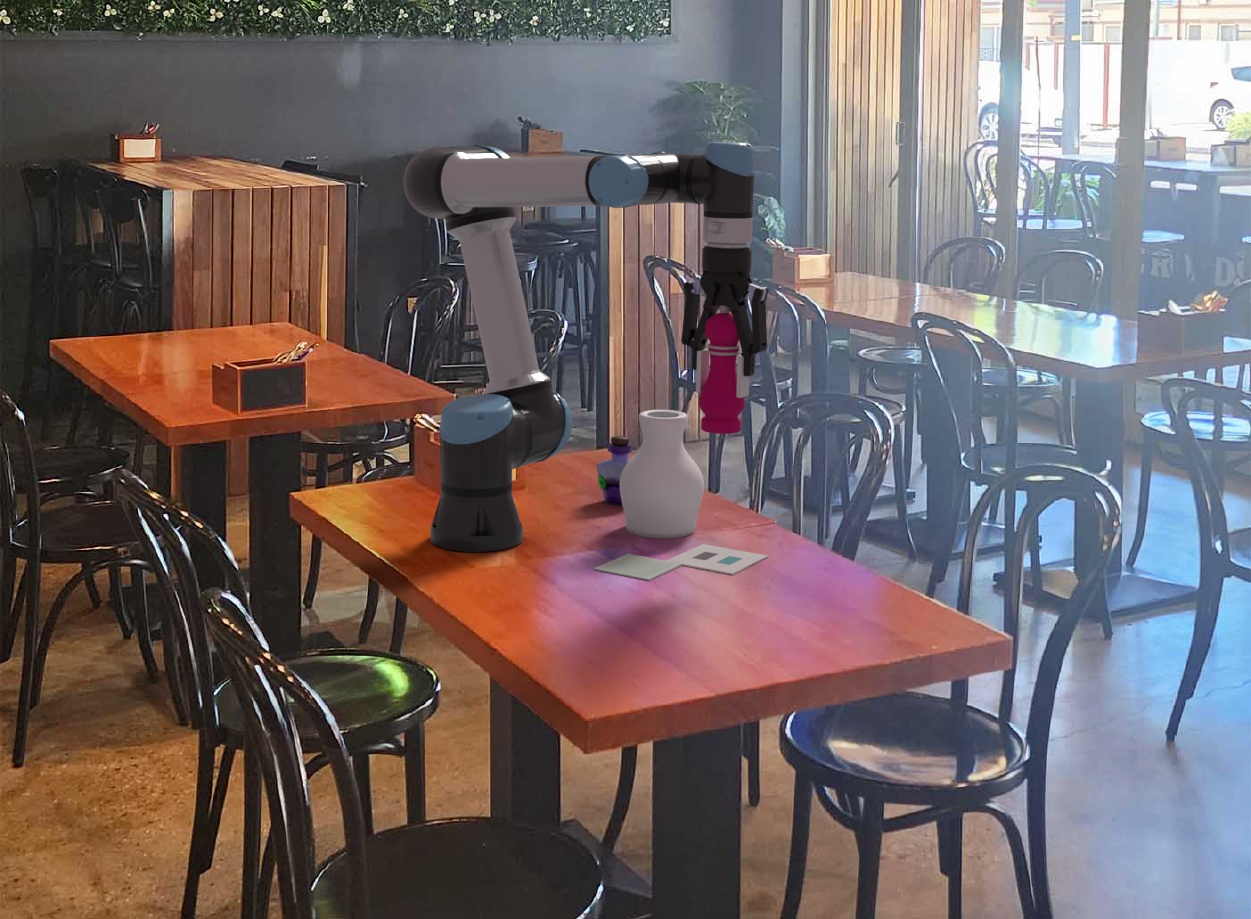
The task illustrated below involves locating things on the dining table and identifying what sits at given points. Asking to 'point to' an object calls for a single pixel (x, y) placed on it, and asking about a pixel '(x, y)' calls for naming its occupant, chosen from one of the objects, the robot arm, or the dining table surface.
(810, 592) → the dining table surface
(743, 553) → the tile
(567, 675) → the dining table surface
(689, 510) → the vase
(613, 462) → the potion bottle
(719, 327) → the pepper mill
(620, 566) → the coaster
